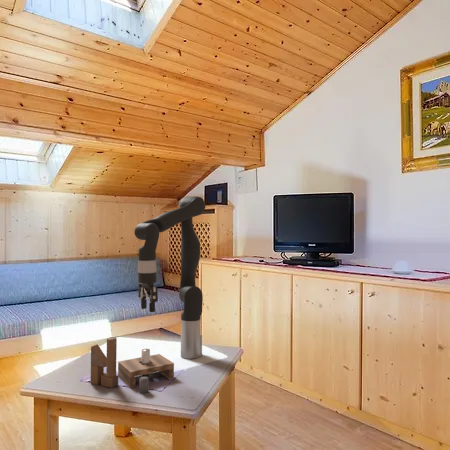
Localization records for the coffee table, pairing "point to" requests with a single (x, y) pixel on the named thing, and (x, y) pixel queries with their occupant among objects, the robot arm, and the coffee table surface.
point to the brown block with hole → (144, 368)
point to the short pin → (143, 385)
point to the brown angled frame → (104, 364)
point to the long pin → (145, 360)
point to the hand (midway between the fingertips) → (147, 310)
